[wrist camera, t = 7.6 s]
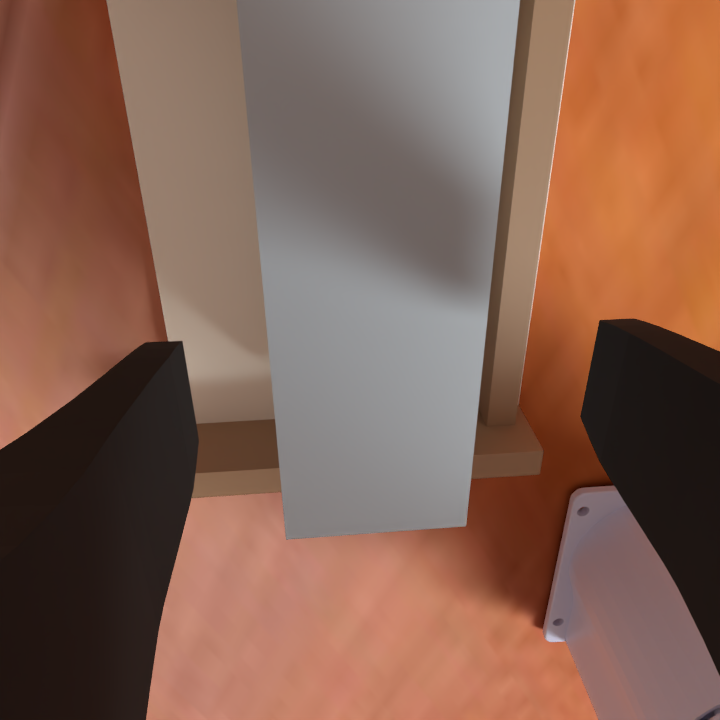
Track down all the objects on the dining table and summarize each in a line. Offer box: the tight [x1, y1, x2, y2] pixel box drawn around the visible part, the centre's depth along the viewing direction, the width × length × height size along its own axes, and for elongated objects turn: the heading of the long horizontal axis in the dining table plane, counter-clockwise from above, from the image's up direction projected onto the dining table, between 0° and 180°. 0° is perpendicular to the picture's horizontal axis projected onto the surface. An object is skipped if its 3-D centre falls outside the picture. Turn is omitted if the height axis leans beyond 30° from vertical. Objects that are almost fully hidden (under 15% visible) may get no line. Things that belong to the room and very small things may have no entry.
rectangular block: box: [236, 0, 520, 540], centre depth 15 cm, size 12×4×6 cm, turn 0°
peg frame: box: [106, 0, 575, 498], centre depth 18 cm, size 18×12×4 cm, turn 0°
